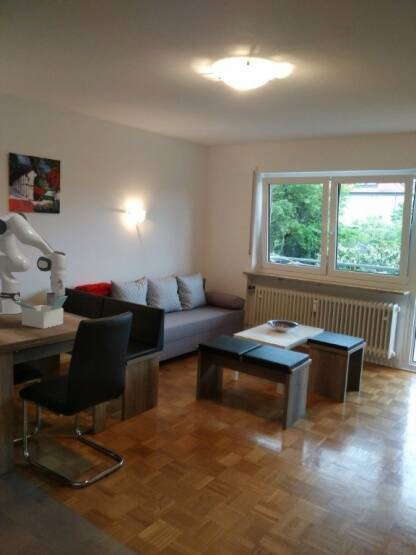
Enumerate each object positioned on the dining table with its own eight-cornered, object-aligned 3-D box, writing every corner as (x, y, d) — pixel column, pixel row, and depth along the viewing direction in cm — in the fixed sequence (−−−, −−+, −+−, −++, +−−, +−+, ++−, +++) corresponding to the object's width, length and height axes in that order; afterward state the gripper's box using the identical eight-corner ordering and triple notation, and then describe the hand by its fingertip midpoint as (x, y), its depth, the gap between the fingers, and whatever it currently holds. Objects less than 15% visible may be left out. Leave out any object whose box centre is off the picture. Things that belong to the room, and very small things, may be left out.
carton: (20, 324, 272) (20, 308, 271) (41, 319, 287) (41, 304, 286) (43, 328, 264) (43, 312, 263) (63, 323, 279) (64, 308, 278)
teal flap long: (24, 307, 270) (13, 302, 262) (24, 306, 270) (13, 301, 262) (36, 309, 265) (25, 304, 258) (36, 308, 266) (26, 303, 258)
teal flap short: (50, 308, 268) (57, 297, 265) (60, 306, 276) (66, 295, 273) (51, 309, 268) (57, 298, 265) (61, 307, 276) (67, 296, 272)
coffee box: (53, 314, 305) (54, 291, 303) (62, 315, 304) (62, 292, 302) (46, 316, 296) (46, 293, 294) (55, 317, 295) (55, 293, 293)
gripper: (68, 281, 261) (66, 304, 263) (59, 276, 278) (58, 297, 280) (57, 281, 258) (56, 304, 259) (49, 276, 275) (48, 297, 276)
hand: (57, 300), depth 270 cm, fingers closed
